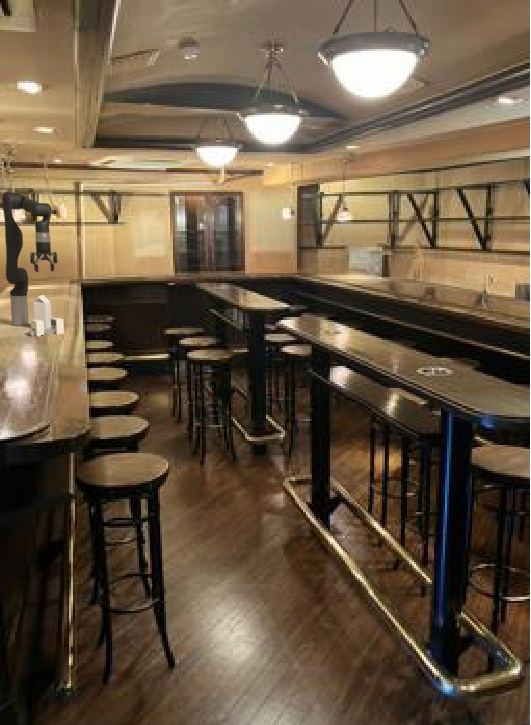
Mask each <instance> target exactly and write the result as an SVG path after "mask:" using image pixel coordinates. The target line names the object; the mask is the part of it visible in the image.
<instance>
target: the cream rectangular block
mask: <svg viewBox="0 0 531 725" xmlns="http://www.w3.org/2000/svg"><path fill="white" fill-rule="evenodd" d="M30 330H35V335H36V336H35V337H37V336H38V337H42V336H41V335H44V321H42V320H38V319H37V320H34V319H30ZM44 336H45V335H44Z"/></svg>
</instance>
